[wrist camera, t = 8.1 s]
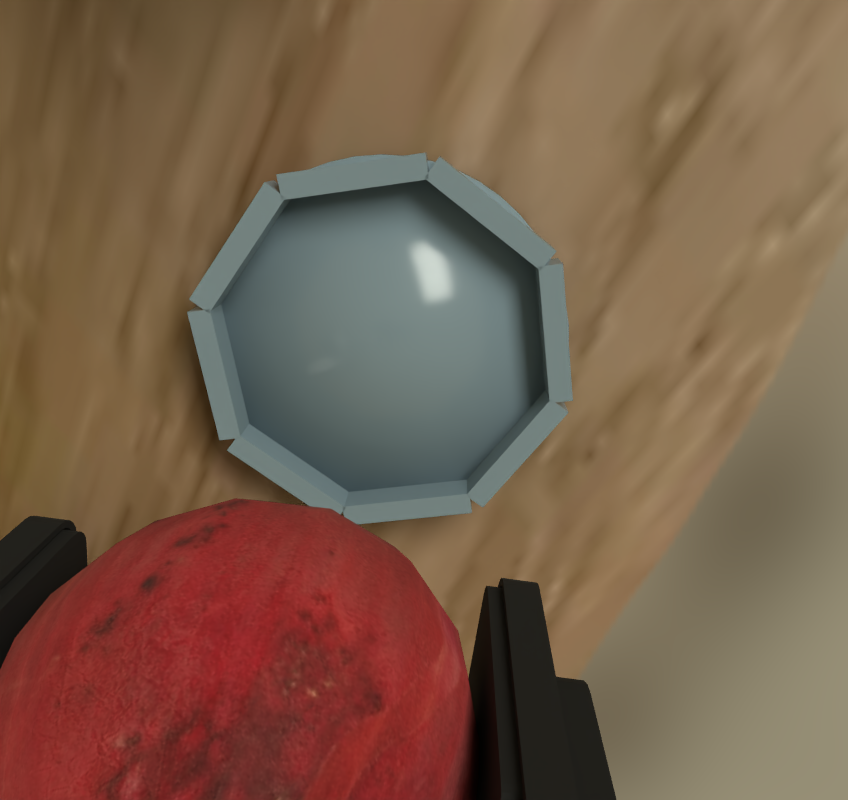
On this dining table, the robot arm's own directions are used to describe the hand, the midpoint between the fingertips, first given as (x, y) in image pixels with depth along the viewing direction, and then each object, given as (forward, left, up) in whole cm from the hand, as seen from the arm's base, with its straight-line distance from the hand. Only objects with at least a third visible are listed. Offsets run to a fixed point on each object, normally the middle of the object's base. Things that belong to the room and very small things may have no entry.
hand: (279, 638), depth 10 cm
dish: (0, 0, -17) cm, 17 cm away
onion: (0, 0, -2) cm, 2 cm away
